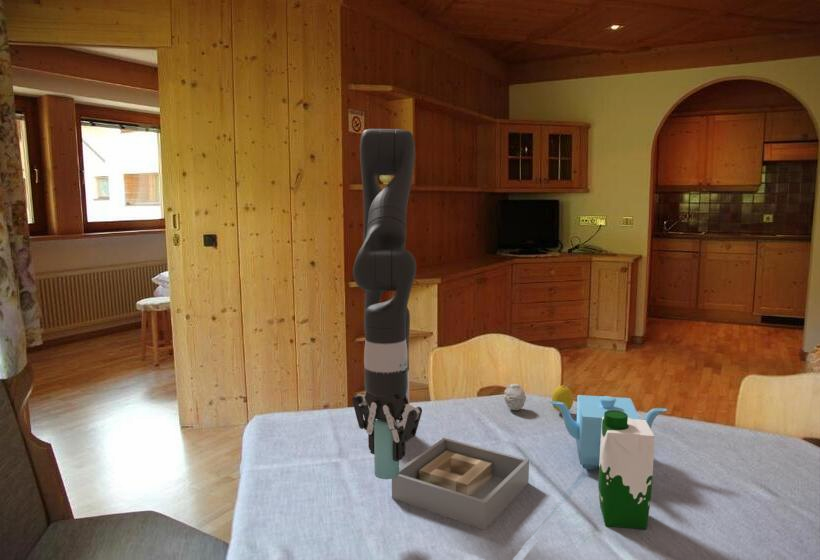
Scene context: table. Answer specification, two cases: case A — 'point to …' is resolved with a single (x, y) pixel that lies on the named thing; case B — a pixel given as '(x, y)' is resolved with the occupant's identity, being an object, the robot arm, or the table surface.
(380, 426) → the peg
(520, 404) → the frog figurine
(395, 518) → the table surface
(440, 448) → the open box
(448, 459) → the bore block
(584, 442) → the teakettle
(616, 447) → the milk carton
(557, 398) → the lemon
